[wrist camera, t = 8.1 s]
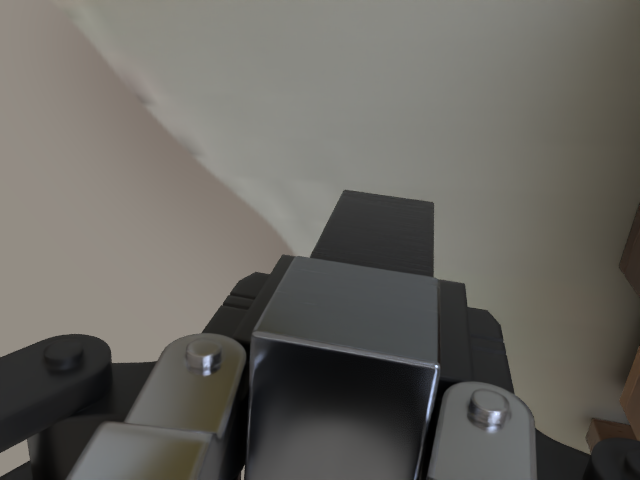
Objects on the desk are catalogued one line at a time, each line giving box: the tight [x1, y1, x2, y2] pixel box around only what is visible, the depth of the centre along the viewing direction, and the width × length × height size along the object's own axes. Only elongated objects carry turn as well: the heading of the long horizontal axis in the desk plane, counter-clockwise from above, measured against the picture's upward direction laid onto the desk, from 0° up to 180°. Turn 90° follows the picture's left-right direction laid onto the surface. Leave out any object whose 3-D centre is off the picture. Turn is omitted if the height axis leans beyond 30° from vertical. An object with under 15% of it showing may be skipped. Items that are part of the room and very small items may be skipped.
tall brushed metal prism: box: [244, 190, 442, 480], centre depth 12 cm, size 4×2×8 cm, turn 174°
